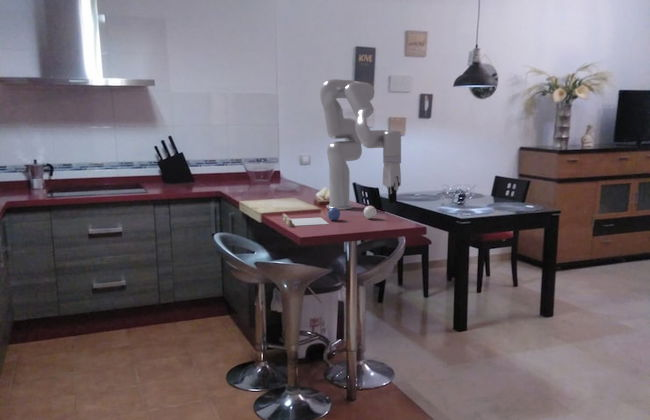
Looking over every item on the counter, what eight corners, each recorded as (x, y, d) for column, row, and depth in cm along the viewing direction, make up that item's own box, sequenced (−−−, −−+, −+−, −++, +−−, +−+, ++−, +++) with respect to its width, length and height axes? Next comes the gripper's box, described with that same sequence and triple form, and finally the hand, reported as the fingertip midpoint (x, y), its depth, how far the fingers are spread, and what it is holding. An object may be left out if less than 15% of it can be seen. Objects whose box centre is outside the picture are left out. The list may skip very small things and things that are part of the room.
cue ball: (361, 217, 231) (361, 205, 230) (373, 217, 232) (374, 204, 231) (365, 220, 226) (366, 207, 225) (378, 219, 227) (378, 206, 226)
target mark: (288, 219, 228) (288, 219, 227) (320, 217, 231) (320, 217, 231) (295, 226, 214) (295, 225, 214) (329, 224, 218) (329, 223, 218)
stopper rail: (282, 219, 228) (282, 213, 227) (284, 219, 228) (284, 213, 228) (289, 226, 213) (289, 220, 212) (292, 226, 213) (291, 220, 212)
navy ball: (325, 219, 227) (325, 206, 226) (338, 218, 229) (338, 206, 228) (329, 222, 222) (329, 209, 221) (342, 221, 223) (342, 208, 222)
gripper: (377, 159, 233) (378, 201, 236) (390, 161, 219) (390, 205, 222) (393, 158, 235) (394, 200, 238) (407, 160, 221) (407, 204, 223)
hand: (392, 202), depth 230 cm, fingers closed
